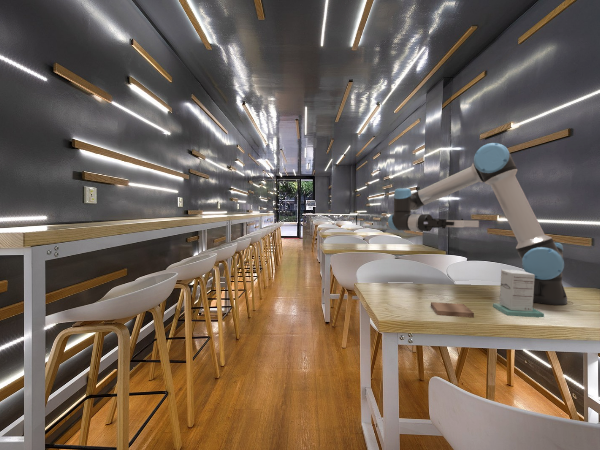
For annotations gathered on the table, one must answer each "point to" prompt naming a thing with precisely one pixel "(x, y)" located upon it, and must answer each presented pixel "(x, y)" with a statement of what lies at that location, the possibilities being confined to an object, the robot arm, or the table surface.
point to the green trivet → (518, 313)
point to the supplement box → (517, 290)
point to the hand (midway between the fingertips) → (471, 223)
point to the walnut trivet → (451, 309)
